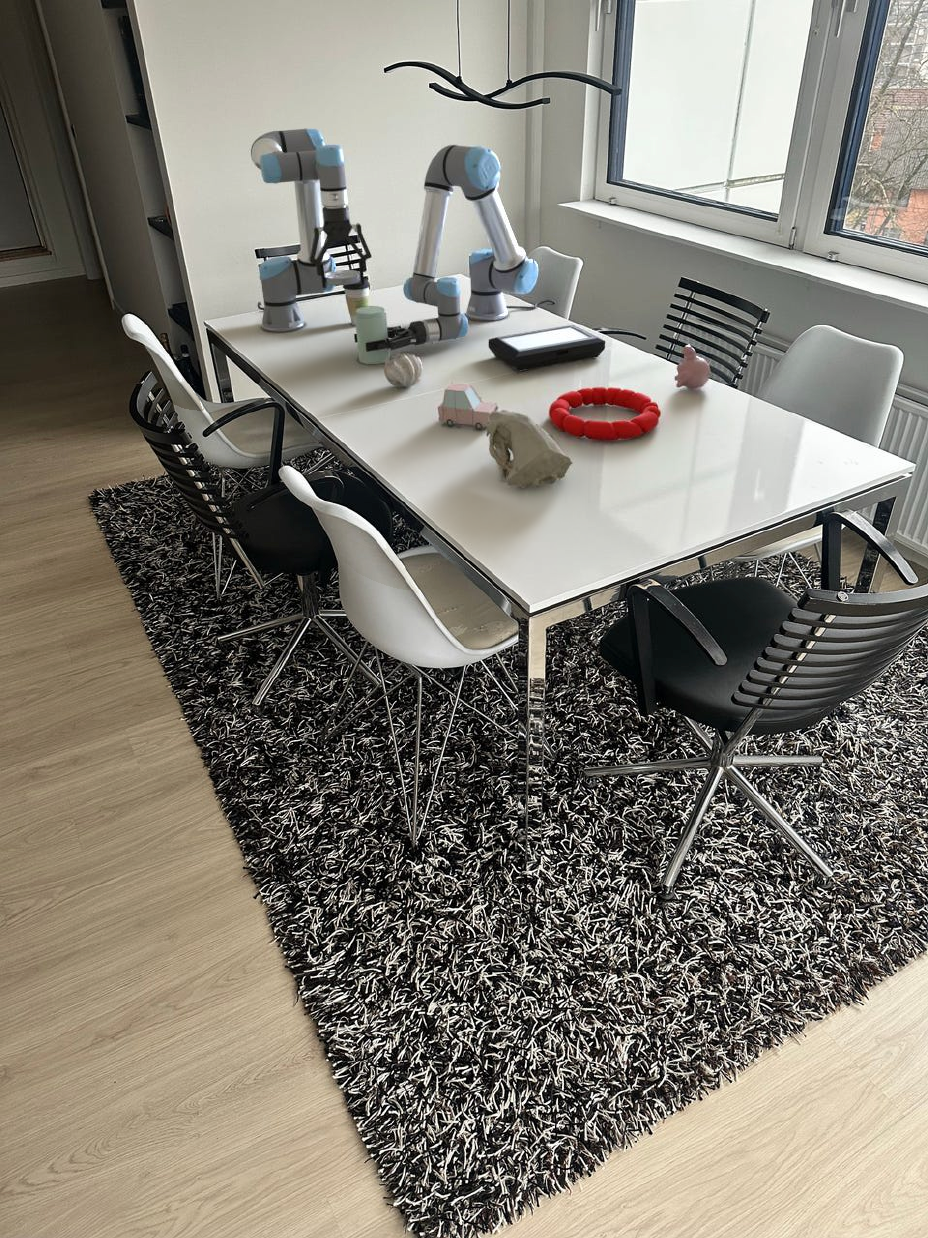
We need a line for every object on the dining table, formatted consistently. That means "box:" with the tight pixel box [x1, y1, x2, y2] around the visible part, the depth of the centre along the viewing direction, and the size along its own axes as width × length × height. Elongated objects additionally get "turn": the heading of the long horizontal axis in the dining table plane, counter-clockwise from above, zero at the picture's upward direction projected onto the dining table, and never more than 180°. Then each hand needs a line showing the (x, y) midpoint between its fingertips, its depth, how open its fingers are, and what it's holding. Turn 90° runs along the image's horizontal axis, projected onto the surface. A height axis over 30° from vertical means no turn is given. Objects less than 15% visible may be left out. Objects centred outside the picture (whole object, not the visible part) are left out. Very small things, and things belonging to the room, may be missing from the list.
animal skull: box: [485, 409, 573, 489], centre depth 216 cm, size 17×25×20 cm
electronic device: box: [488, 324, 606, 372], centre depth 288 cm, size 32×6×20 cm
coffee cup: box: [342, 277, 371, 326], centre depth 323 cm, size 10×10×15 cm
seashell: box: [383, 352, 424, 388], centre depth 268 cm, size 10×15×10 cm
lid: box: [324, 269, 361, 286], centre depth 268 cm, size 11×11×2 cm
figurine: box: [674, 344, 711, 390], centre depth 259 cm, size 9×11×12 cm
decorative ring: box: [548, 386, 661, 442], centre depth 242 cm, size 7×30×30 cm
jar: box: [355, 305, 390, 365], centre depth 289 cm, size 10×10×16 cm
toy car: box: [437, 382, 499, 431], centre depth 243 cm, size 9×15×10 cm, turn 70°
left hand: (343, 284), depth 269 cm, fingers closed on lid, 11 cm apart
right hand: (360, 342), depth 288 cm, fingers closed on jar, 10 cm apart
